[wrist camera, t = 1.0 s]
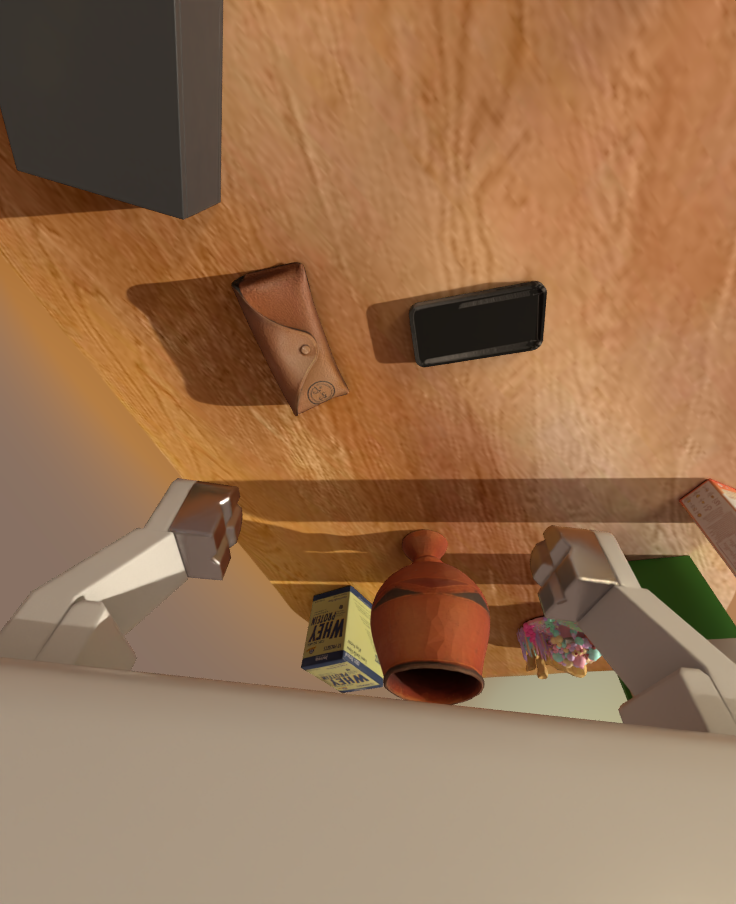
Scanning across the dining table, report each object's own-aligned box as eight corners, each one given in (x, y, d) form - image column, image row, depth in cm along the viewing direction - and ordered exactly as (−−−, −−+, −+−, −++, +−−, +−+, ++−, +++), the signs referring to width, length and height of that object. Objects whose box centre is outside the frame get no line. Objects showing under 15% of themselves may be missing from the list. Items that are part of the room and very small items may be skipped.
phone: (542, 348, 47) (416, 368, 49) (539, 344, 48) (416, 364, 50) (547, 281, 42) (407, 307, 44) (544, 277, 43) (407, 303, 45)
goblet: (442, 495, 66) (461, 647, 47) (493, 553, 75) (526, 699, 56) (353, 533, 74) (338, 677, 55) (409, 581, 83) (413, 718, 64)
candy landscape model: (601, 653, 99) (616, 694, 92) (507, 647, 101) (515, 687, 94) (646, 602, 83) (668, 647, 76) (533, 597, 84) (545, 640, 77)
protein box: (350, 584, 85) (342, 659, 74) (386, 616, 94) (384, 688, 82) (312, 595, 89) (299, 668, 78) (349, 624, 98) (343, 694, 86)
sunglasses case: (354, 394, 53) (324, 424, 50) (317, 390, 57) (287, 418, 54) (301, 256, 42) (259, 282, 39) (260, 263, 47) (219, 287, 43)
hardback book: (582, 585, 81) (636, 722, 62) (585, 565, 76) (644, 706, 58) (679, 577, 77) (767, 720, 59) (689, 555, 72) (787, 703, 54)
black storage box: (44, -76, 29) (-66, -136, 22) (223, -10, 31) (172, -47, 24) (85, 160, 38) (16, 170, 31) (220, 202, 40) (183, 220, 33)
